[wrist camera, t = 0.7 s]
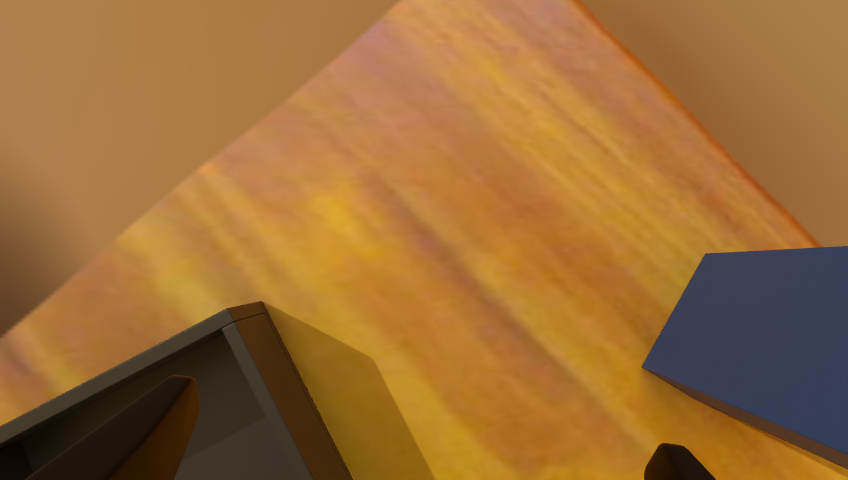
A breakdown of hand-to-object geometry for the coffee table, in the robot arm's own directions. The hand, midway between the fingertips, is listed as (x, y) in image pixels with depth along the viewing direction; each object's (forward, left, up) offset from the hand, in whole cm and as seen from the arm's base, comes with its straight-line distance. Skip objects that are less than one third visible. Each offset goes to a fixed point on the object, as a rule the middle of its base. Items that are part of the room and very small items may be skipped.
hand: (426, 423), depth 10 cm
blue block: (-6, -12, -15) cm, 20 cm away
